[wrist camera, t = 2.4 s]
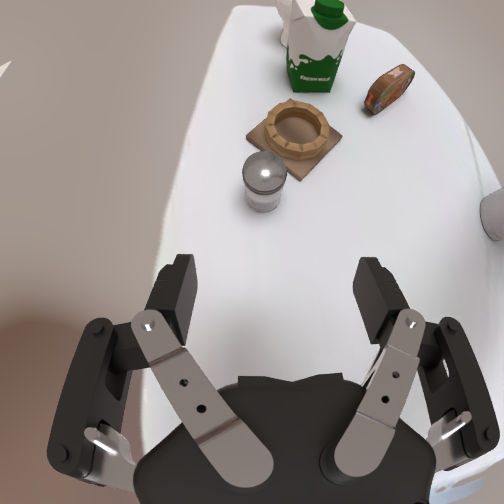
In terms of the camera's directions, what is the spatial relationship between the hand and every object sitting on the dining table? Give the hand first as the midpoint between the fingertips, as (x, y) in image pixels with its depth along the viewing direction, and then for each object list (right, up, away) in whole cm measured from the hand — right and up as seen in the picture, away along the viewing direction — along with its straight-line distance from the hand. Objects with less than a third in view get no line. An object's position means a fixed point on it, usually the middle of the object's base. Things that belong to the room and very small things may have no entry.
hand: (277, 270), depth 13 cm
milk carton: (+9, +33, +30) cm, 46 cm away
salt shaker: (0, +9, +26) cm, 28 cm away
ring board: (+6, +19, +28) cm, 34 cm away
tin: (+24, +30, +29) cm, 49 cm away
